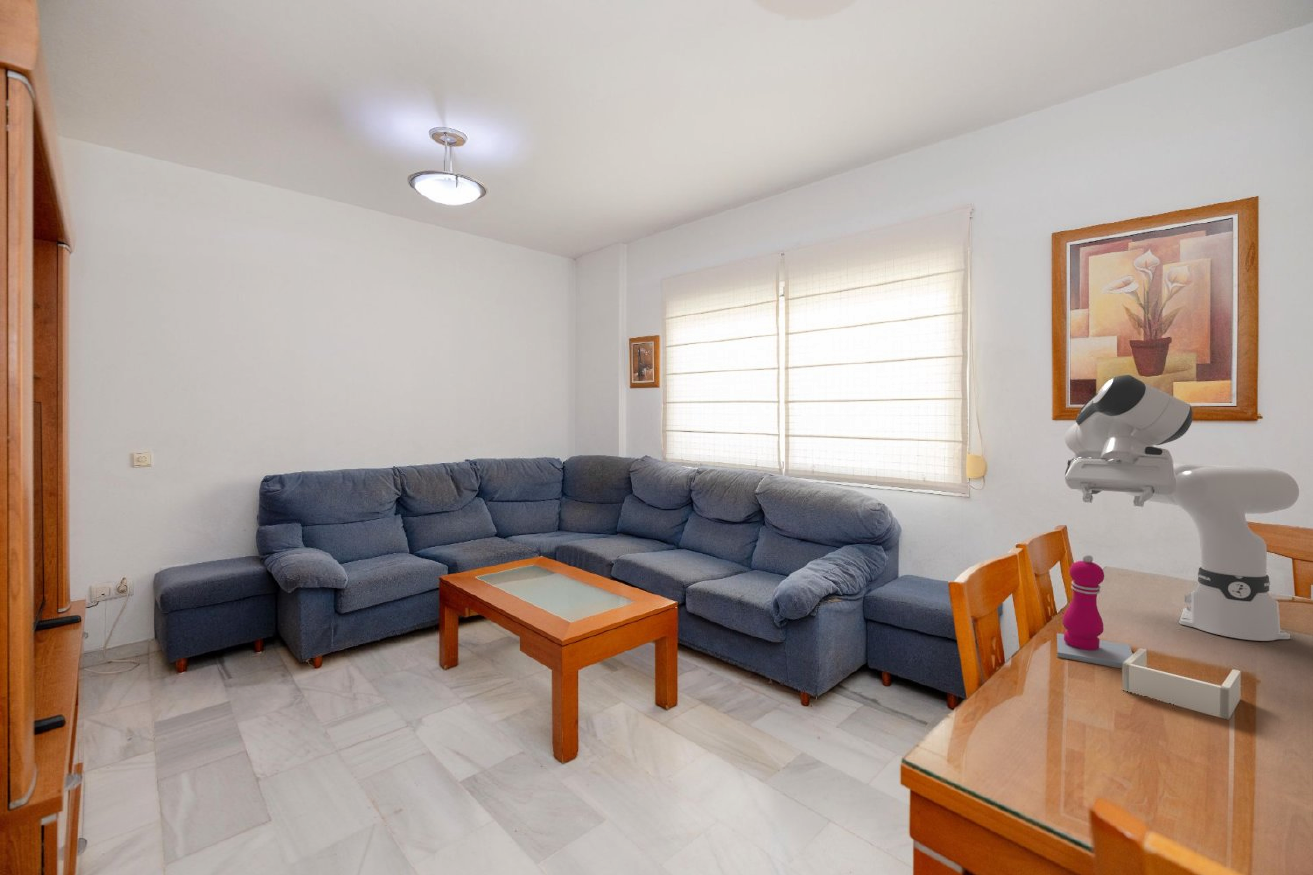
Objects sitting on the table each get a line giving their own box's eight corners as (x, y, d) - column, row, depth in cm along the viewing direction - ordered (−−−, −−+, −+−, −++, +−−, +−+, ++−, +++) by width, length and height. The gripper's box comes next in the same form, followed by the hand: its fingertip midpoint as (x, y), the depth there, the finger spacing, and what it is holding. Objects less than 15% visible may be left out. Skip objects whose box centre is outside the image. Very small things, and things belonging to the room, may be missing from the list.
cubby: (1140, 673, 114) (1140, 647, 114) (1240, 698, 103) (1240, 670, 103) (1122, 690, 106) (1122, 663, 106) (1228, 719, 95) (1228, 689, 95)
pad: (1056, 637, 134) (1056, 633, 134) (1129, 649, 126) (1129, 644, 126) (1057, 656, 122) (1057, 652, 122) (1137, 670, 115) (1137, 665, 115)
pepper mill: (1109, 652, 122) (1117, 560, 120) (1071, 650, 123) (1078, 559, 121) (1090, 637, 129) (1096, 550, 127) (1054, 635, 130) (1060, 548, 128)
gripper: (1069, 448, 144) (1055, 490, 138) (1178, 450, 128) (1167, 497, 122) (1075, 465, 147) (1061, 507, 141) (1182, 469, 131) (1172, 516, 125)
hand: (1111, 502), depth 132 cm, fingers open, 8 cm apart
